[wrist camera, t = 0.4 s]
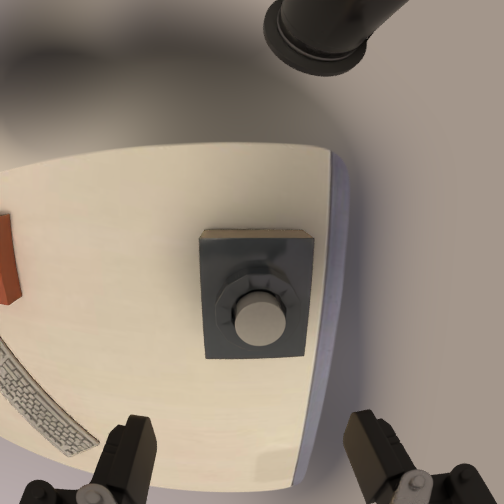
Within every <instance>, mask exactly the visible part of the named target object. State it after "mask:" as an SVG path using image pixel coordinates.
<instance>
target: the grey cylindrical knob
mask: <svg viewBox="0 0 504 504" xmlns="http://www.w3.org/2000/svg"><path fill="white" fill-rule="evenodd" d="M285 325H286V320H285V316H284V313H283V310H282V308H281V305H280V303H279V301H278V300H277V299H276V297H274V296H273V295H271V294H270V293H267V292H263V291H256V292H251V293H249V294H246V295H245V296H243V297H242V298H241V299H240V300H239V302H238V303H237V305H236V308H235V329H236V332H237V334H238V336H239V337H240V338H241V339H242V340H243V341H244V342H246V343H248V344H250V345H254V346H264V345H268V344H271V343H273V342H275V341H276V340H277V339H278V338H279V337H280V336H281V335H282V333H283V332H284V329H285Z"/></svg>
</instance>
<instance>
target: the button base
mask: <svg viewBox="0 0 504 504" xmlns="http://www.w3.org/2000/svg"><path fill="white" fill-rule="evenodd" d="M20 297H22V293H21V289H20V284H19V279H18V274H17V269H16V263H15V257H14V250H13V243H12V235H11V225H10V214H6V215H0V304H4V305H10V304H11V303H13V302H14V301H16V300H17V299H19V298H20Z"/></svg>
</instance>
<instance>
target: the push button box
mask: <svg viewBox="0 0 504 504" xmlns="http://www.w3.org/2000/svg"><path fill="white" fill-rule="evenodd" d="M313 256H314V238H313V237H312V236H311V235H309V234H308V233H306V232H305V231H304V230H274V229H220V230H204V231H203V233H202V234H201V236H200V238H199V258H200V282H201V302H202V318H203V333H204V346H205V358H206V359H259V358H282V357H298V356H304V353H305V345H306V336H307V326H308V317H309V306H310V295H311V283H312V270H313ZM256 291H263V292H267V293H270V294H271V295H273V296H274V297H276V299H277V300H278V301H279V303H280V305H281V308H282V310H283V313H284V316H285V320H286V325H285V329H284V332H283V333H282V335H281V336H280V337H279V338H278V339H277V340H276V341H275V342H273V343H271V344H268V345H264V346H254V345H250V344H248V343H246V342H244V341H243V340H242V339H241V338H240V337H239V336H238V334H237V332H236V329H235V308H236V305H237V303H238V302H239V300H240V299H241V298H242V297H243V296H245V295H246V294H249V293H251V292H256Z"/></svg>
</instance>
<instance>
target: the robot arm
mask: <svg viewBox="0 0 504 504" xmlns="http://www.w3.org/2000/svg"><path fill="white" fill-rule="evenodd" d="M408 1H409V0H283V2H282V5H281V8H280V9H279V12H278V15H277V19H276V27H277V31H278V33H279V35H280V37H281V39H282V40H283V41H284V43H285V44H286V45H287V46H288V47H289V48H290V49H292V50H293V51H294V52H296V53H297V54H299V55H301V56H303V57H305V58H308V59H310V60H314V61H318V62H328V63H329V62H337V61H341V60H344V59H346V58H347V57H349V56H350V55H351V54H352V53H353V52H354V51H355V50H356V49H357V47H358V46H359V45H360V44H361V43H362V42H363V41H364V40H366V41H365V42H364V43H363V45H364V44H365V43H366V42H367V40H368V39H369V38H370V36H371V35H372V34H373V32H374V31H375V30H376V29H377V28H378V27H379V26H380V25H382V24H383V23H384V22H385V21H386V20H387V19H388V18H389V17H391V16H392V15H393V14H394V13H395V12H396V11H397V10H398V9H400V8H401V7H402V6H403V5H404V4H405V3H407V2H408ZM363 45H362V46H363ZM362 46H361V47H362ZM361 47H360V48H361ZM343 444H344V448H345V450H346V453H347V456H348V458H349V460H350V463H351V466H352V468H353V471H354V473H355V476H356V478H357V481H358V483H359V486H360V488H361V491H362V493H363V496H364V499H365V501H366V504H371V503H374V502H376V503H377V504H497V503H496V501H495V499H494V498H493V496H492V494H491V493H490V491H489V489H488V487H487V486H486V484H485V482H484V481H483V479H482V478H481V476H480V474H479V473H478V471H477V470H476V468H475V467H474V466H472V465H470V464H460V465H457V466H456V467H455V468H454V469H453V470H452V471H451V472H450V473H445V474H437V475H430V474H428V473H427V472H426V471H423V470H418V469H416V467H415V466H414V464H413V462H412V461H411V459H410V457H409V455H408V454H407V452H406V451H405V449H404V447H403V445H402V444H401V443H400V440H399V438H398V437H397V436H396V433H395V432H394V430H393V428H392V427H391V425H390V424H388V423H387V422H386V421H384V420H383V419H376V417H375V416H374V414H373V412H372V411H371V410H363V411H359V412H353V413H352V414H351V416H350V419H349V421H348V424H347V427H346V430H345V433H344V436H343ZM156 452H157V441H156V437H155V434H154V430H153V427H152V424H151V420H150V418H149V417H145V416H138V415H130V416H129V418H128V420H127V423H126V426H123V425H117V426H116V427H115V428H114V429H113V430H112V431H111V432H110V433H109V436H108V438H107V441H106V444H105V446H104V449H103V452H102V454H101V456H100V459H99V462H98V464H97V467H96V469H95V472H94V475H93V478H92V480H91V482H90V483H89V484H87V485H84V486H82V487H81V488H80V489H78V490H64V489H54V488H53V487H52V485H51V484H49V483H48V482H46V481H43V480H34V481H32V482H30V483H29V484H28V485H27V486H26V488H25V491H24V493H23V496H22V498H21V501H20V503H19V504H146V500H147V495H148V489H149V485H150V480H151V475H152V471H153V466H154V461H155V457H156Z"/></svg>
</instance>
